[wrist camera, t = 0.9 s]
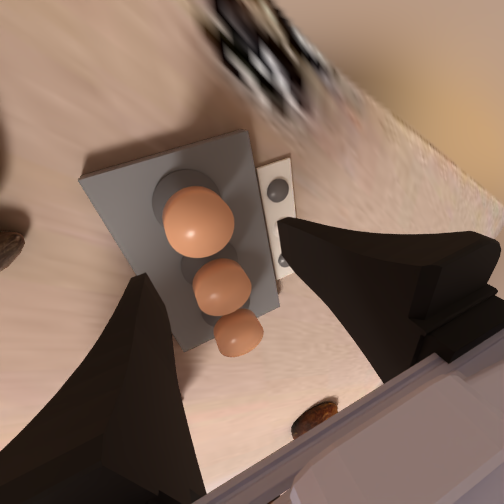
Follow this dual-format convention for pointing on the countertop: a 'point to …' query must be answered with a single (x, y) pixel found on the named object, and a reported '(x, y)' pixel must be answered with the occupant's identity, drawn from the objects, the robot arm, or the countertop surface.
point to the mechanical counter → (10, 247)
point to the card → (276, 207)
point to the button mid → (221, 287)
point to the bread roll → (313, 418)
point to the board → (153, 233)
